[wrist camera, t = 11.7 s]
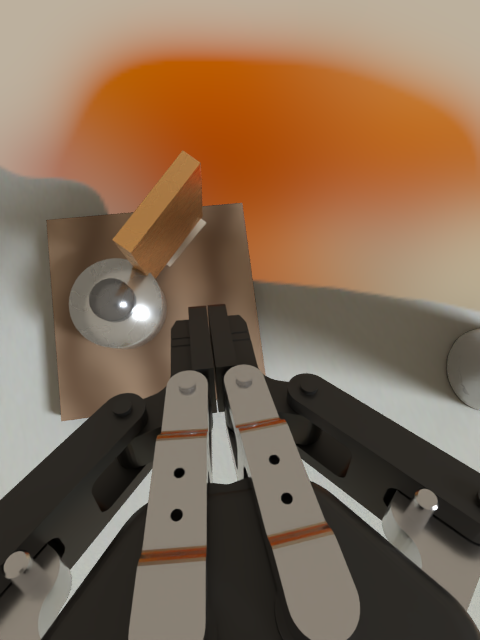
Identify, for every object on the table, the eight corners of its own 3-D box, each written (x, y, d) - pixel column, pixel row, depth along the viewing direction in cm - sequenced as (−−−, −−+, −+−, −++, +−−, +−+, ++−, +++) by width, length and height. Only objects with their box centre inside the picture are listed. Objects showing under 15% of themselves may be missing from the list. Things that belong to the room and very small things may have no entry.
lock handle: (134, 365, 36) (102, 366, 25) (67, 318, 36) (5, 298, 25) (228, 237, 38) (235, 187, 27) (164, 193, 38) (147, 125, 27)
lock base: (240, 210, 41) (242, 201, 39) (264, 390, 39) (268, 392, 37) (54, 227, 39) (45, 218, 37) (69, 418, 37) (60, 421, 35)
